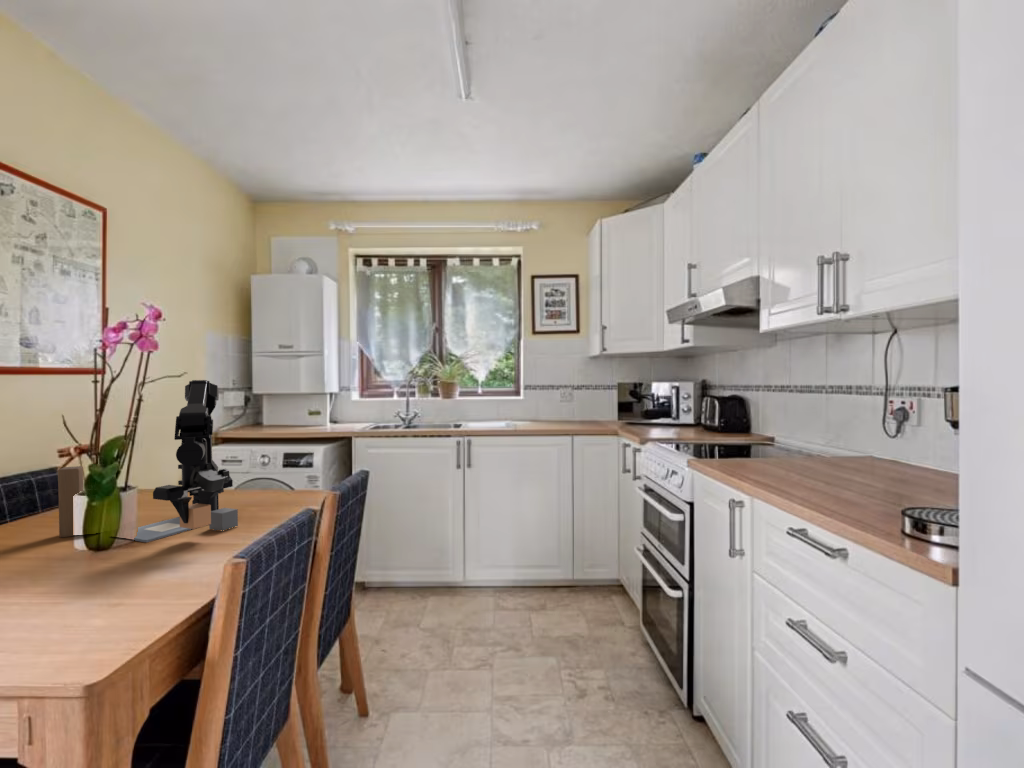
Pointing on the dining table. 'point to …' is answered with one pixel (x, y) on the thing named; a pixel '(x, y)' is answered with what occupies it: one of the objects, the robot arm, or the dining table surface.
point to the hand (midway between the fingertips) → (195, 520)
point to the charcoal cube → (224, 519)
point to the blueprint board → (159, 530)
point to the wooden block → (68, 497)
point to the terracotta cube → (197, 516)
